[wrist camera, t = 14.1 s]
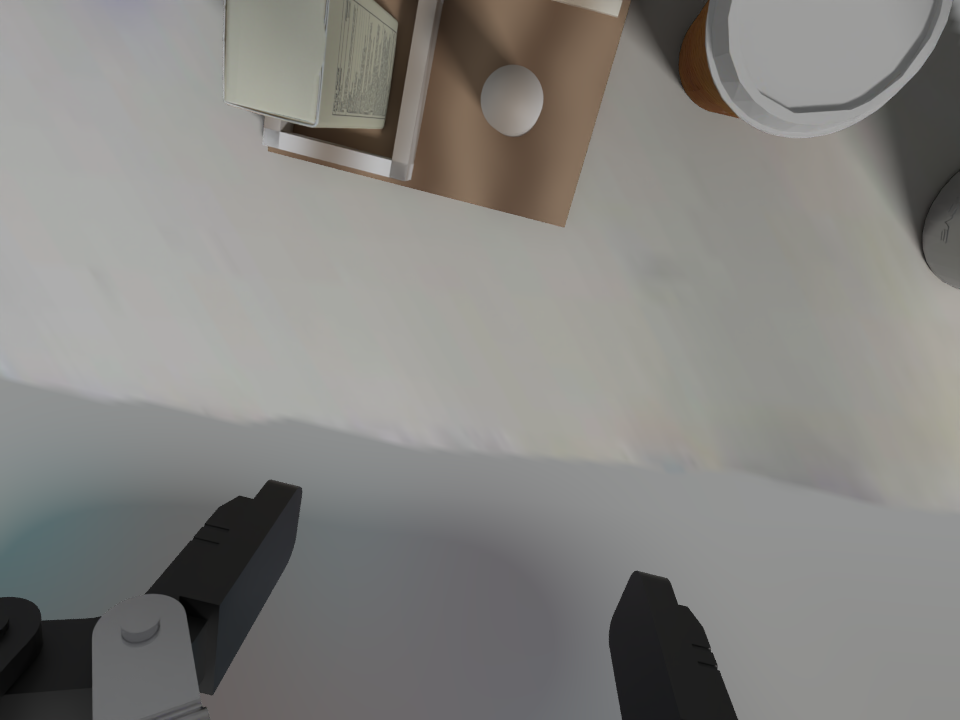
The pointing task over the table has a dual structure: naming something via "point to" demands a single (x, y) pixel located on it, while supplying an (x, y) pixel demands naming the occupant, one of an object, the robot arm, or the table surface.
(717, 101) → the disposable coffee cup
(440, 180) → the pin board
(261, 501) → the robot arm
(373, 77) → the skincare box
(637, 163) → the table surface
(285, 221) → the table surface
